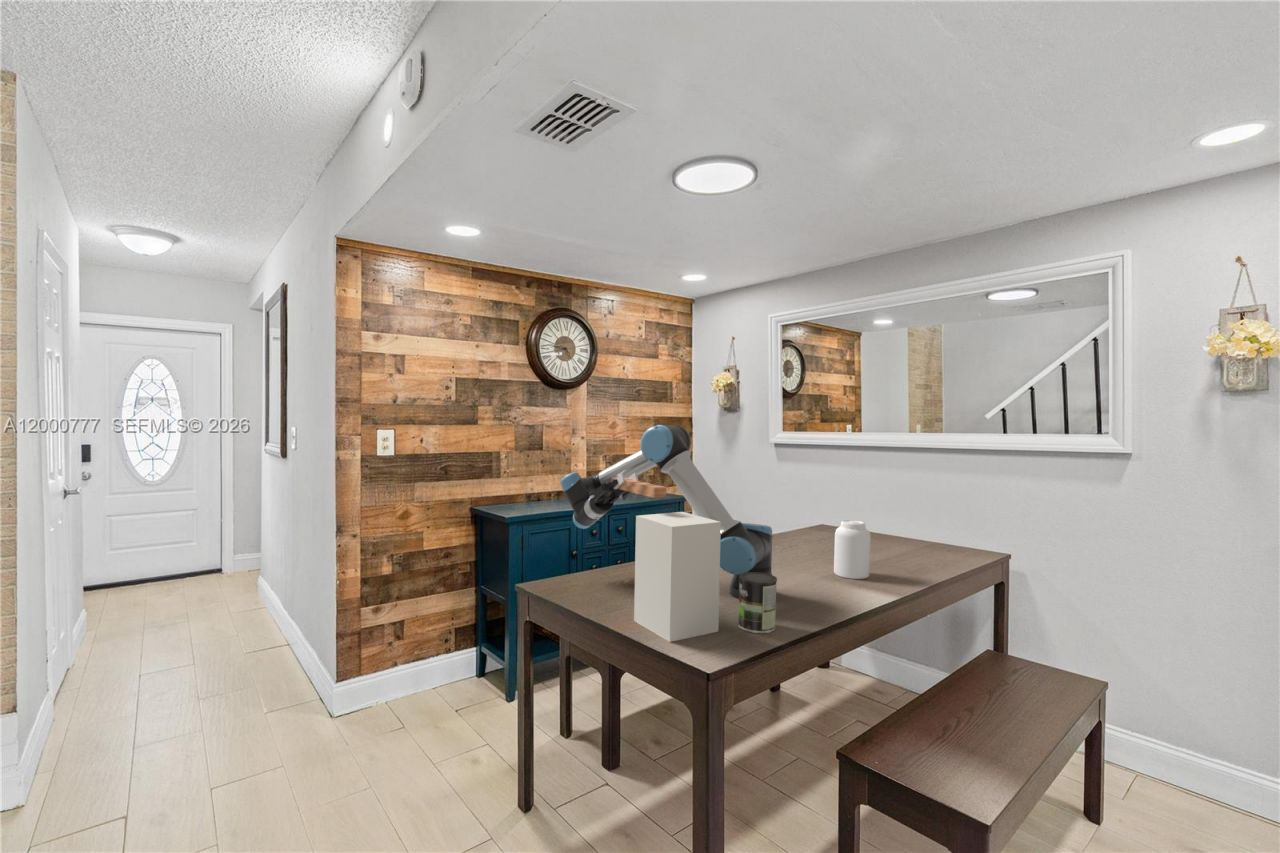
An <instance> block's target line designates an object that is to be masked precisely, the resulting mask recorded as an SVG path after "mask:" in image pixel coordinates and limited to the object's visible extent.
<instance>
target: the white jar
mask: <svg viewBox="0 0 1280 853" xmlns="http://www.w3.org/2000/svg"><path fill="white" fill-rule="evenodd" d="M871 536H872V535H871V532H870V531H869V529H868V528H866V524H865V522H864V521H861V520H854V519H852V520H851V519H844V520H842V521H841V522H840V526H839V527H837V528H836V529H835V532H834V547H833V548H834V550H833V552H834V553H833V554H834V556H833V573H834V574H835V575H836V576H838V577H840V578H844V579H850V580H851V579H852V580H864V579H867V578H869V576H870V574H871V572H870V571H871V570H870V568H871V567H870V566H871V540H872V539H871V538H872V537H871Z"/></svg>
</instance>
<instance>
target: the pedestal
mask: <svg viewBox="0 0 1280 853" xmlns="http://www.w3.org/2000/svg"><path fill="white" fill-rule="evenodd" d="M720 540H721V522H719V521H716V520H712V519H708V518H704V517H701V516H697V514H693V513H689V512H685V511H677V512H676V511H675V512H673V511H672V512H663V513H662V512H661V513H655V514H653V513H651V514H641V515H635V551H634V552H635V553H634V554H635V555H634V597H633V598H634V599H633V600H634V601H633V602H634V604H633V606H634V607H633V609H634V610H633V621H634V622H635V623H636V624H638V625H640V626H641V627H644V628H645V629H647V630H649V631H650V632H652V633H654V634H655V635H657V636H658V637H660V638H662V639H664V640H665V641H667V642H668V643H672V642H675V641H676V642H677V641H681V640H686V639H690V638H691V639H692V638H695V637H699V636H705V635H709V634H713V633H718V632H719V620H720V619H719V618H720V617H719V615H720V614H719V613H720V611H719V610H720V581H721V580H720V571H721V570H720V569H721V567H720Z"/></svg>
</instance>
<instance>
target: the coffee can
mask: <svg viewBox="0 0 1280 853" xmlns="http://www.w3.org/2000/svg"><path fill="white" fill-rule="evenodd" d="M739 579H740V590H739V591H740V592H739V598H738V601H739V602H738V624H737V626H738V627H739V629H741V630H742V631H745V632H748V633H751V634H752V633H753V634H768V633H772V632H774V631H775V630H776V605H777V604H776V603H777V582H778V577H776V576H775V575H773V574H772V575H770V574H766V573H759V572H748V573H743V574H741V575H740V576H739Z"/></svg>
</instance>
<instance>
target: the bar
mask: <svg viewBox="0 0 1280 853" xmlns="http://www.w3.org/2000/svg"><path fill="white" fill-rule="evenodd" d="M614 479H616V478H611V482H612V481H613V480H614ZM617 489H621V490H625V491H629V492H631V493H634V494H637V495H641V496H645V497H648V498H653V499H661V498H662V499H663V498H667V486H663V485H658V484H655V483H649V482H645V481H639V480H638V481H637V480H632V479H627V478H625V482H624V483H623V484H622V485H620V486H619V487H618V488H617Z"/></svg>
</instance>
